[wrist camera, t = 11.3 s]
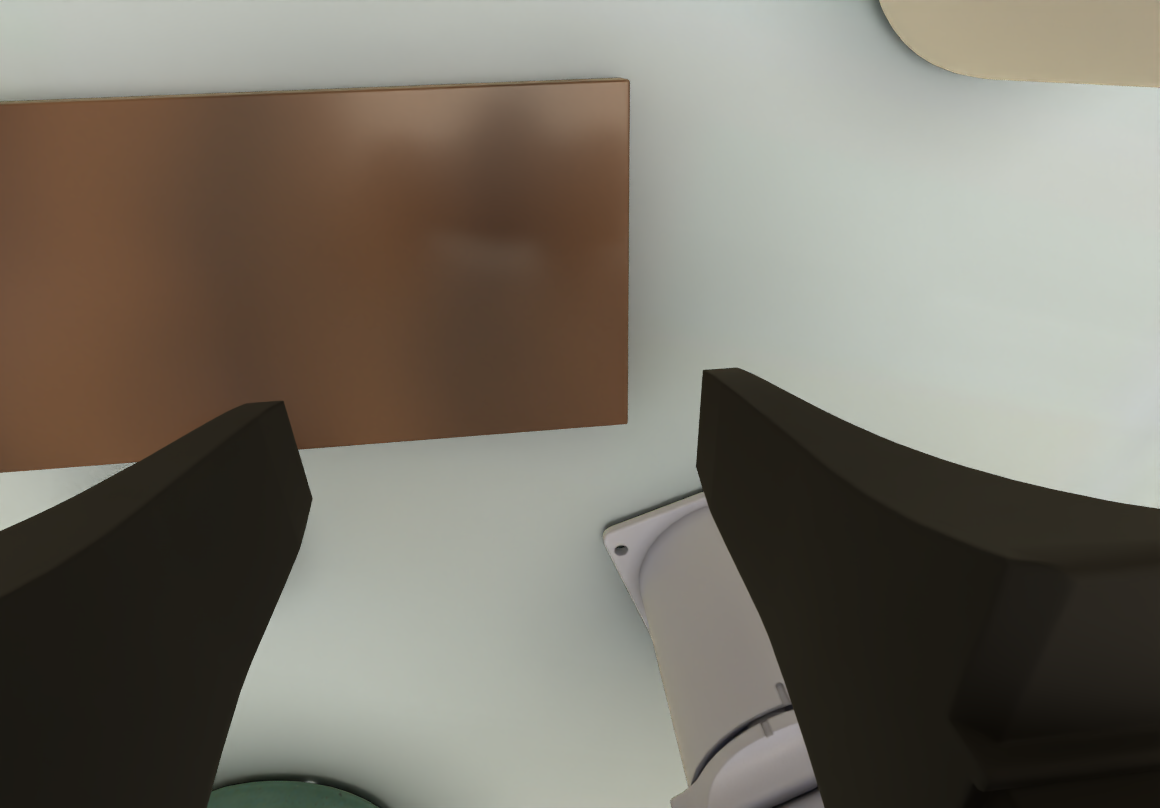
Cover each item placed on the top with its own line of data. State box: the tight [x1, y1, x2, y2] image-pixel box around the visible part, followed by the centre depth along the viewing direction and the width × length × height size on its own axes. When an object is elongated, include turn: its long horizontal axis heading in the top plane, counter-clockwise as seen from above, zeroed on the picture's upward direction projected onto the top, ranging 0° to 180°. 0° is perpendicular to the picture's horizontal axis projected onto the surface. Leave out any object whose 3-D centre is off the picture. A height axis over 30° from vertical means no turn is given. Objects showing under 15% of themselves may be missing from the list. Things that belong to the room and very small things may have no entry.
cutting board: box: [0, 78, 630, 473], centre depth 18 cm, size 20×10×2 cm, turn 92°
